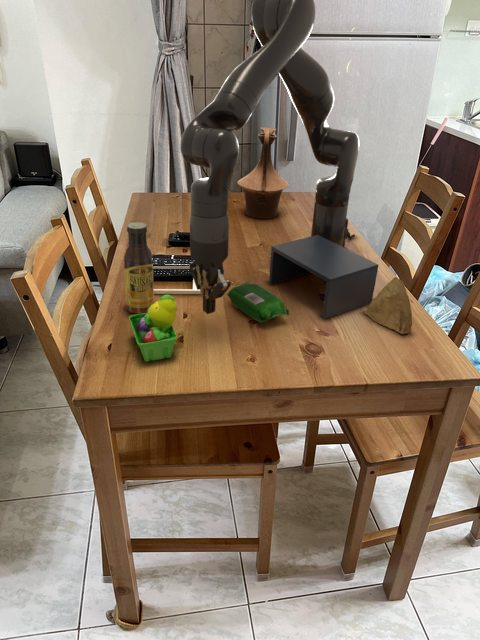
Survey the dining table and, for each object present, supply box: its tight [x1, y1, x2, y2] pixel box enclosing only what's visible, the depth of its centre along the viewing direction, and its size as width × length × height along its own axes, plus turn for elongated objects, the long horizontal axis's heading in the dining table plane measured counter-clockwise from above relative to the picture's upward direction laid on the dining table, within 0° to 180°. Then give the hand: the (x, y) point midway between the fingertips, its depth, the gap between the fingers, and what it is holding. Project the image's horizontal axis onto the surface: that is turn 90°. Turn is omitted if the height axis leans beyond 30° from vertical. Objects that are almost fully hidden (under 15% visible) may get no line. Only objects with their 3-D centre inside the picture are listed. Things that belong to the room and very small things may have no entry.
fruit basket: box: [128, 294, 178, 362], centre depth 100 cm, size 11×9×11 cm
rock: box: [364, 276, 413, 335], centre depth 112 cm, size 11×9×10 cm
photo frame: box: [153, 266, 201, 295], centre depth 128 cm, size 15×1×18 cm
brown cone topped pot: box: [237, 126, 290, 219], centre depth 166 cm, size 18×17×28 cm
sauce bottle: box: [123, 221, 155, 314], centre depth 111 cm, size 6×6×20 cm
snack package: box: [226, 281, 290, 324], centre depth 115 cm, size 7×16×5 cm, turn 35°
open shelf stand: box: [268, 235, 379, 320], centre depth 123 cm, size 15×21×10 cm
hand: (209, 311), depth 108 cm, fingers closed
